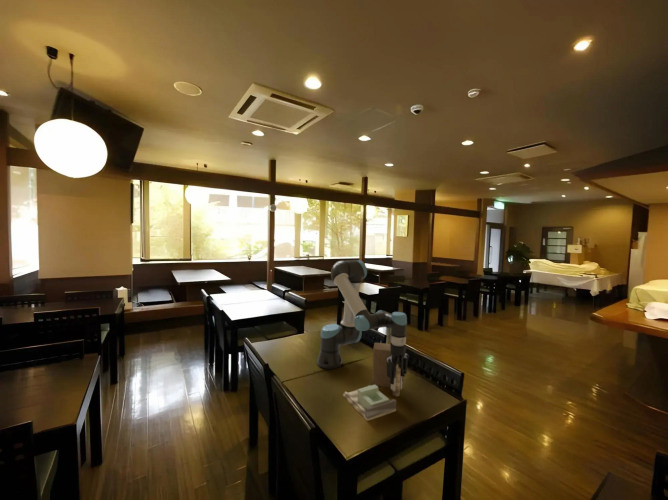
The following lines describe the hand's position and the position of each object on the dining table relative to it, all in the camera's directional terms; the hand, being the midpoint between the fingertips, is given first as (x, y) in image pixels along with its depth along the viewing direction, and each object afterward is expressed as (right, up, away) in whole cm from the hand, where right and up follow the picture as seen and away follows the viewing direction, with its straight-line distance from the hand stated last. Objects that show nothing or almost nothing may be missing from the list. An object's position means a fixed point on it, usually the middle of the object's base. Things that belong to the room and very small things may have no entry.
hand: (396, 388), depth 142 cm
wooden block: (-5, -3, +12) cm, 13 cm away
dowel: (0, -3, 0) cm, 3 cm away
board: (-15, -3, -8) cm, 17 cm away
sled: (-13, -2, -11) cm, 17 cm away
